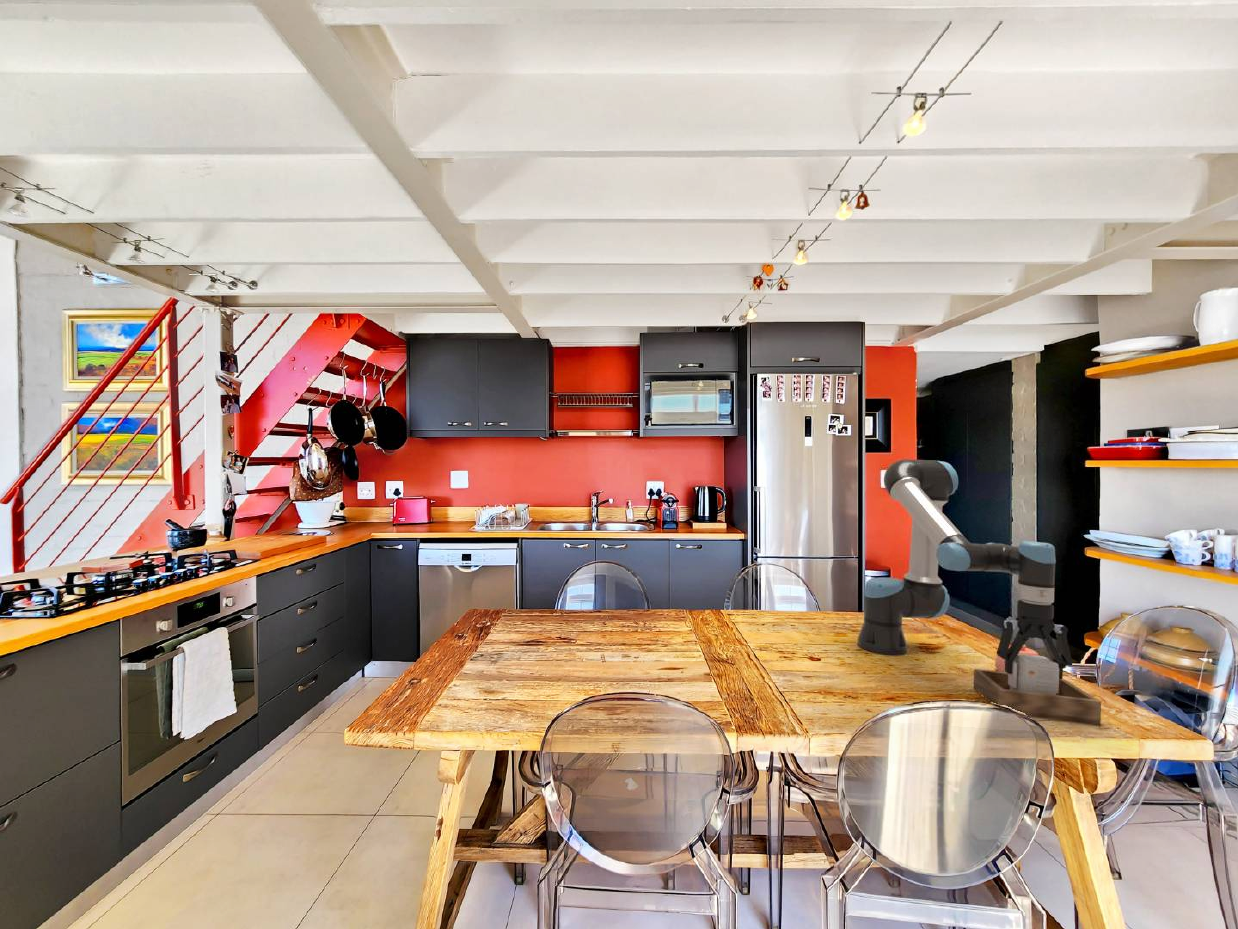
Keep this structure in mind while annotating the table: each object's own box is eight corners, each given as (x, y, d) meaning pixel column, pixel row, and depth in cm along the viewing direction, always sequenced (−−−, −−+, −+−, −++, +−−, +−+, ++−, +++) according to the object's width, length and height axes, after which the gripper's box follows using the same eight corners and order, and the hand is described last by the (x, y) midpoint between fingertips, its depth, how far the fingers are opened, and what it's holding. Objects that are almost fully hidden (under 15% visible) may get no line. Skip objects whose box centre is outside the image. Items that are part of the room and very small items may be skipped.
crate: (999, 712, 133) (1000, 690, 133) (973, 688, 148) (974, 668, 148) (1100, 725, 128) (1101, 702, 128) (1062, 699, 143) (1063, 678, 143)
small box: (1041, 695, 140) (1044, 656, 140) (1055, 705, 134) (1059, 664, 134) (1008, 691, 141) (1012, 652, 141) (1021, 700, 135) (1025, 659, 135)
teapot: (1012, 684, 153) (1013, 651, 153) (981, 662, 170) (982, 633, 170) (1059, 689, 150) (1060, 655, 150) (1024, 666, 168) (1024, 636, 168)
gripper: (995, 601, 137) (992, 688, 137) (1093, 609, 132) (1090, 700, 132) (982, 594, 144) (979, 678, 144) (1074, 602, 139) (1072, 688, 139)
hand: (1032, 688), depth 138 cm, fingers open, 9 cm apart
